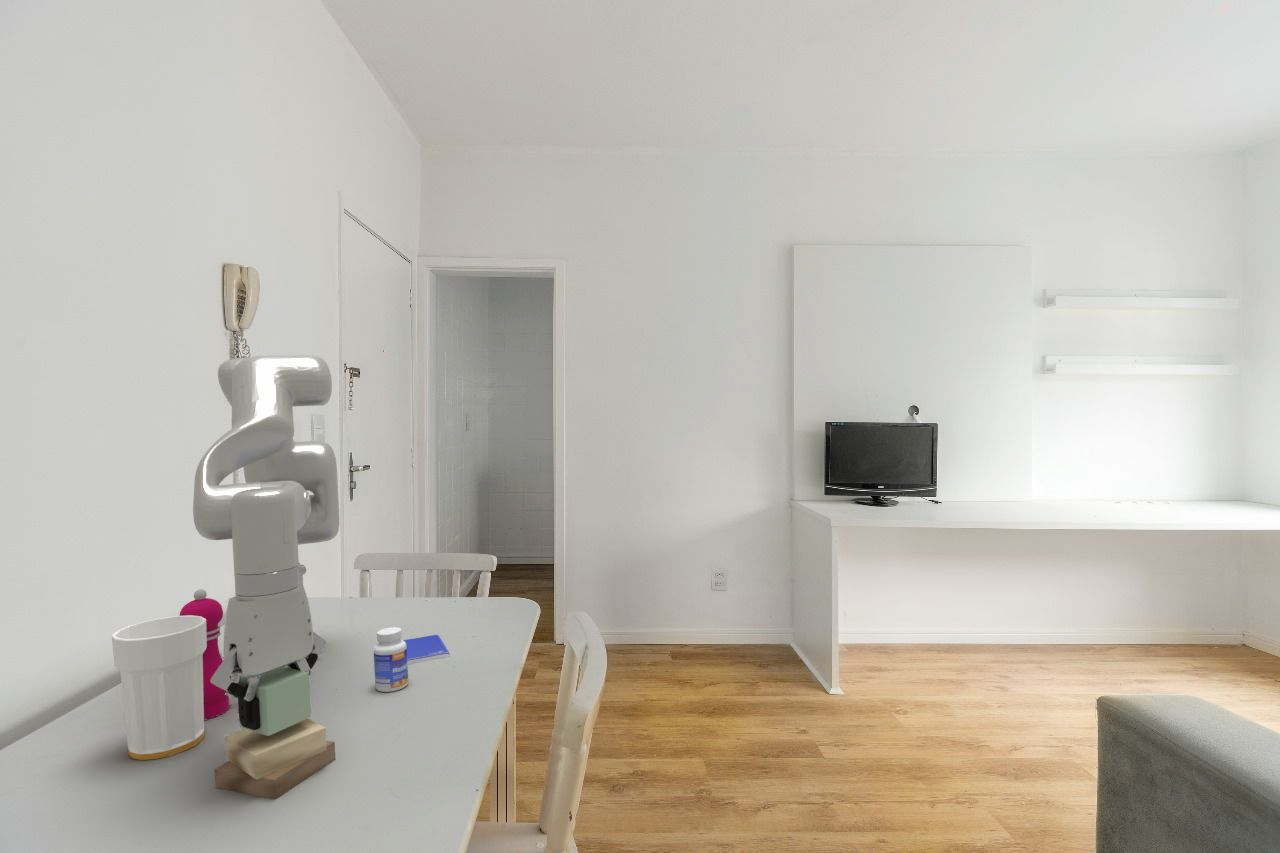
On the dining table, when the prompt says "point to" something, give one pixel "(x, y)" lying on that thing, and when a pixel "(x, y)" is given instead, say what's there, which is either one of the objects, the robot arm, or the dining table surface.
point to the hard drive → (425, 649)
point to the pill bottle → (390, 660)
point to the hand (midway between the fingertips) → (275, 715)
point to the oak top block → (274, 747)
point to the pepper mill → (209, 651)
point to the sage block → (282, 699)
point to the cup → (162, 684)
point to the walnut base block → (272, 776)
